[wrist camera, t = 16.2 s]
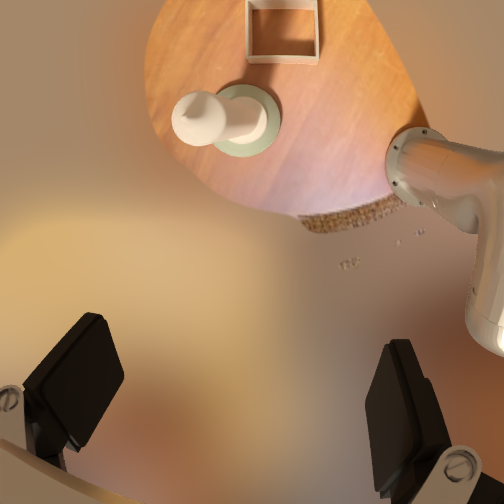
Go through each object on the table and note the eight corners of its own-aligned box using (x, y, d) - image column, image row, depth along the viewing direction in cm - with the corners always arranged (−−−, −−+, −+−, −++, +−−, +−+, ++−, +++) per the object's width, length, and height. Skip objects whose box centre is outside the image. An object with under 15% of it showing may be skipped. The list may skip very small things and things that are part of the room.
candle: (225, 92, 40) (149, 63, 18) (273, 103, 40) (247, 78, 17) (213, 137, 43) (129, 157, 20) (260, 149, 43) (220, 179, 20)
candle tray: (315, 8, 34) (316, -2, 30) (317, 64, 38) (319, 59, 34) (249, 7, 35) (245, -2, 32) (249, 63, 39) (245, 58, 35)
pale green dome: (293, 105, 41) (293, 104, 40) (259, 168, 45) (258, 170, 44) (226, 74, 40) (225, 73, 39) (195, 137, 45) (193, 137, 44)
